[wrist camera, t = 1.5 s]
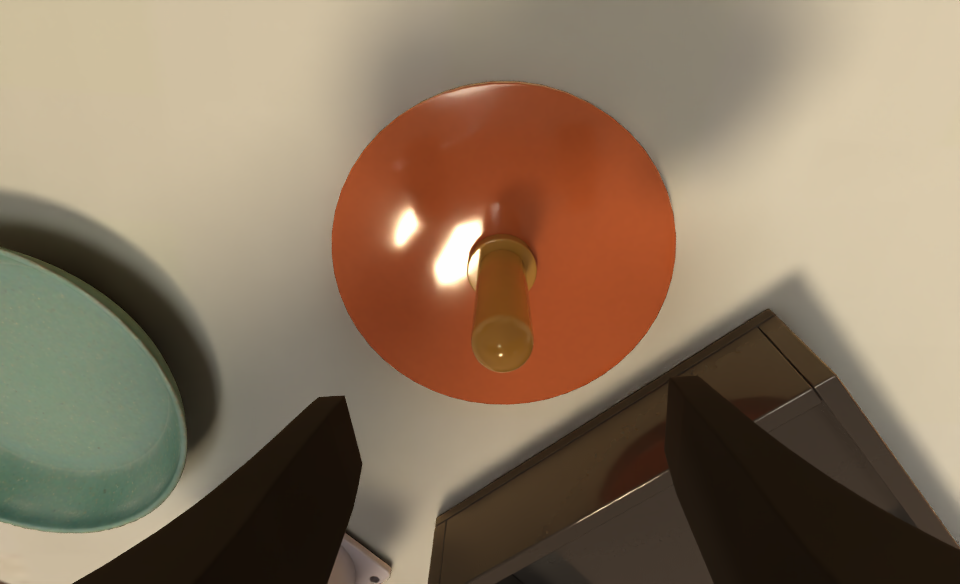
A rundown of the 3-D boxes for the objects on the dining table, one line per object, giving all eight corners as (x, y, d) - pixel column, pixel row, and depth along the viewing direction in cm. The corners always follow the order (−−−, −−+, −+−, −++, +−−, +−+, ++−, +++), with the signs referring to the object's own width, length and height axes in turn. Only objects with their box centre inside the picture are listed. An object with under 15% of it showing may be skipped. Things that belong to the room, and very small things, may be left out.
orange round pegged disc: (485, 439, 25) (480, 585, 18) (269, 240, 21) (162, 332, 14) (733, 274, 21) (843, 382, 14) (524, -9, 17) (541, -43, 10)
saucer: (-182, 194, 21) (-271, 214, 18) (194, 234, 21) (154, 258, 19) (-57, 477, 27) (-111, 519, 25) (232, 505, 27) (206, 550, 25)
